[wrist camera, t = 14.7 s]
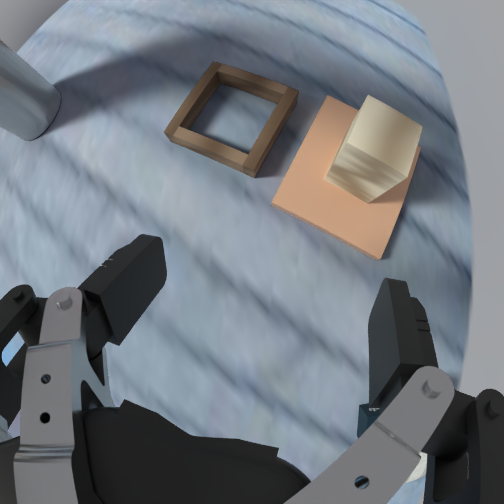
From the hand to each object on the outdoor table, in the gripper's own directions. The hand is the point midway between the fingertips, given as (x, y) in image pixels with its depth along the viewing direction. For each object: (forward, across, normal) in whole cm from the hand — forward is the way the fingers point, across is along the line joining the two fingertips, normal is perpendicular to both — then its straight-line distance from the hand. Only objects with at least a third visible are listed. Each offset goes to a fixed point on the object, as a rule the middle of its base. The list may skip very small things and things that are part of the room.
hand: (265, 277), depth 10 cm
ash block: (+21, -5, +1) cm, 22 cm away
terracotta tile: (+23, -5, +2) cm, 23 cm away
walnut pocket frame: (+24, +9, -2) cm, 25 cm away
